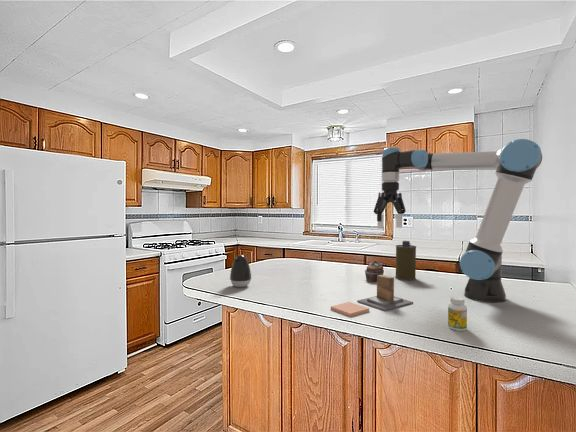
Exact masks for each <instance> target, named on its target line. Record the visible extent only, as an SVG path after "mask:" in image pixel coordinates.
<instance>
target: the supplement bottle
mask: <svg viewBox="0 0 576 432" xmlns="http://www.w3.org/2000/svg"><path fill="white" fill-rule="evenodd" d="M465 301H466V300H465V298H463V297H459V296H451V297H450V300H449V302H450V303H448V306H447V327H448V328H449V329H451V330H453V331H458V332H463V331H466V330H467V327H468V325H467V324H468V323H467V322H468V308H467V306H466V305H465Z"/></svg>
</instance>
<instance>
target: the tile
mask: <svg viewBox="0 0 576 432" xmlns="http://www.w3.org/2000/svg"><path fill="white" fill-rule="evenodd" d="M330 310H331V311H333V312H336V313H340V314H341V315H344V316H347V317H349V318H351V317H354V316H359V315H362V314H366V313H369V312H370V307H366V306H363V305H362V304H361V305H360V304H359V303H358V304H357V303H354V302H352V301H346V302H343V303H339V304H335V305H331V306H330Z"/></svg>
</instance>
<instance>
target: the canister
mask: <svg viewBox="0 0 576 432" xmlns="http://www.w3.org/2000/svg"><path fill="white" fill-rule="evenodd" d="M410 242H411V241H410V240H403V241H402V244H397V245H395V276H394V279H396V280H400V281H401V280H402V281H414V280H416V279H417V276H416V275H417V274H416V271H417V269H416V267H417V265H416V263H417V261H416V259H417V257H416V256H417V245H413V244H411V243H410Z"/></svg>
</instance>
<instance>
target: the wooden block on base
mask: <svg viewBox="0 0 576 432" xmlns="http://www.w3.org/2000/svg"><path fill="white" fill-rule="evenodd" d="M394 292H395V276H394V277H393V276H389V275H384V274H383V275H378V276H377V282H376V296H377V297H375V296H372V297H373V298H370V297H367V298H368V299H367V301H368V302H371V303H374V304H378V305H381V306H386V305H390V304H394V303H398V302H402V301H403V299H404V298H401V297H398V296H395V293H394Z"/></svg>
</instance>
